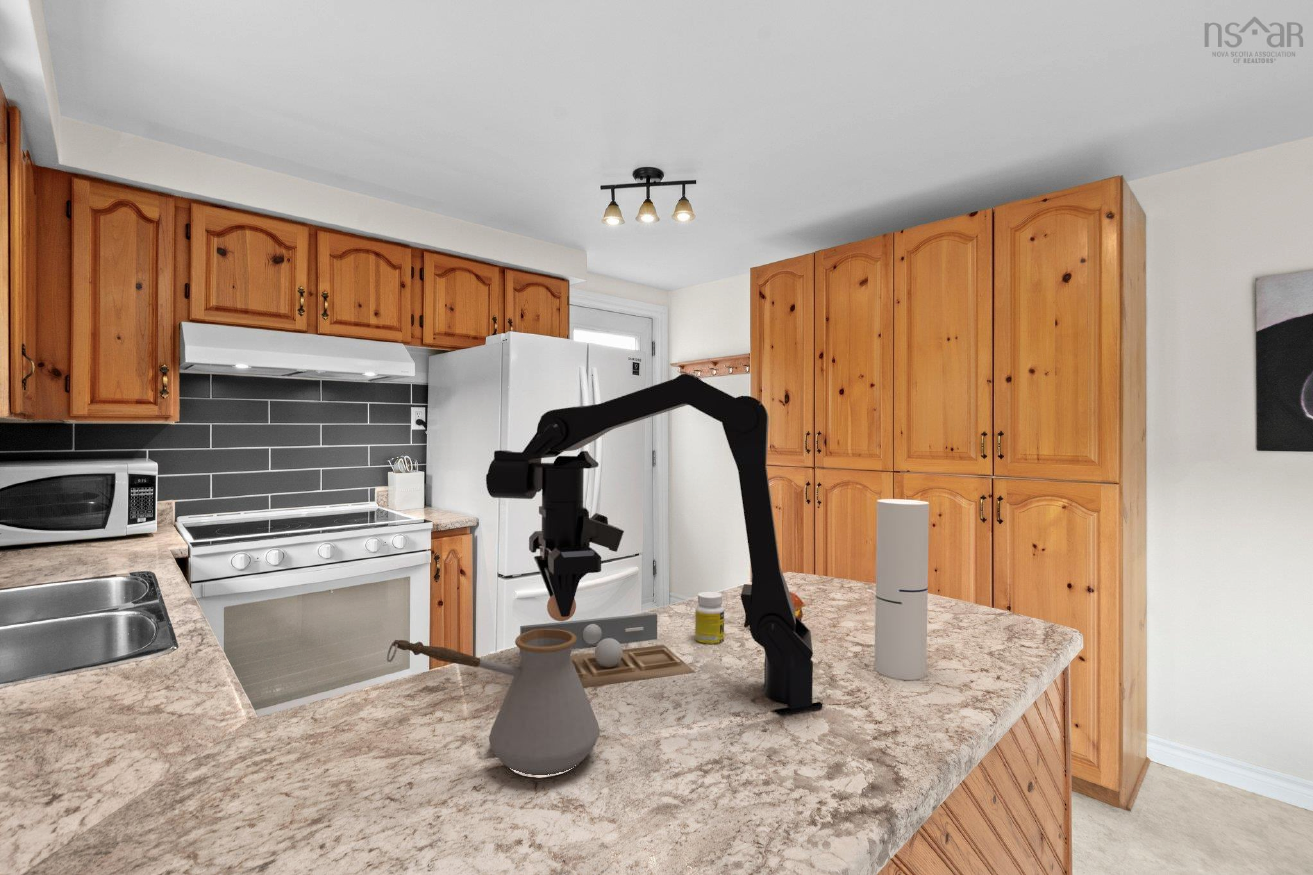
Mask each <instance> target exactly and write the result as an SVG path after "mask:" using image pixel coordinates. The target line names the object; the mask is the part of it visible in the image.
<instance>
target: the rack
mask: <svg viewBox="0 0 1313 875" xmlns="http://www.w3.org/2000/svg"><path fill="white" fill-rule="evenodd" d="M622 651H623V654H622V658H621V660H620V662H619V663H618V664H617V665H616V666H614V667H610V668H606V667H603V666H601V665H600V664H599V663H598V662H597V660H596V658H595V652H593V653H592V652H591V653H585V654H576V655H570V657H571V660H572V662H573V664H574V667H575V669H576V671H577V674H578V676H579V679H580V681H581V683H582V686H583V688H584V689H587V688H592V687H593V688H594V687H600V686H607V685H608V686H609V685H615V684H622V683H630V682H637V681H643V680H652V679H659V678H665V677H673V676H680V675H688V674H695V673H697V672H696V671H695V670H694V669H692V667H690V666H689V665H688V664H687V663H685V661H684V660H683V659H681V657H679V656H678V655H677V654H676V653H674V652H673V651H672V650H670V649H669V647H667V646H666V645H665V644H660V645H652V646H651V645H650V646H643V647H635V648H634V647H633V648H627V649H625V648H624V649H622Z"/></svg>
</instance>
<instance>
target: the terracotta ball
mask: <svg viewBox="0 0 1313 875" xmlns="http://www.w3.org/2000/svg"><path fill="white" fill-rule="evenodd" d="M546 609H547V613H548V615H549V617H551V619H552V620H554V621H556V622H567V621H568V620H569V619H571V618H572V617H573V616H574V615H575V613H576V610H577V603H576V600H575V598H574V601H573V604H572V608H571V612H570V615H569V616H568V617H562V616H561V615H560V612H559V609H558V606H557V604H556V601H555V598H554V595H552V596H551V597H550V596H549V599H548V601H547V605H546Z"/></svg>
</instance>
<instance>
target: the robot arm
mask: <svg viewBox="0 0 1313 875" xmlns="http://www.w3.org/2000/svg"><path fill="white" fill-rule="evenodd" d="M685 406H690V407H692V408H695V409H696V410H697V411H699V412H701V413H703V414H704V415H707V416H709V417H711V418H712V419H714V420H716V421H718V422H720V423H721V425H722V428H723V432H724V435H725V438H726V441H727V443H728V446H729V450H730V452H731V454H732V458H733V460H734V462H735V465H736V469H737V472H738V479H739V480H738V481H739V486H740V488H739V489H740V495H741V502H742V508H743V516H744V524H745V531H746V532H745V533H746V540H747V547H748V554H749V560H750V568H751V584H748V583H747V584H743V587H742V589H741V593H740V601H741V603H742V607H743V610H744V617H745V618H744V623H743V627H744V628H745V629H746V628H748V627H749V633H750V635H751V637H752V639H753V641H754V642H755V643H756V644H758V645H759V646H760V647H762V648H763V650H764V667H763V668H764V670H763V671H764V674H763V675H764V676H763V679H764V680H763V686H764V690H765V691H764V692H765V697H766V698H767V699H769V700H770V701H772V702H774V703H777V704H781V705H786V706H788V707H781V708H776V709H772V711H773V712H774V713H776V714H777V715H779V716H787V715H791V714H796V713H797V714H798V713H802V712H803V713H805V712H808V711H809V712H811V711H815V710H821V709H822V708H823V703H822V702H821V701H818V702H817V701H816V702H813V678H814V675H813V674H814V673H813V672H814V671H813V670H814V661H813V660H812V657H813V655H814V652H813V642H812V634H811V630H810V629H809V628H808V627H807V626H806V625H805V623H803V622H802V620H801V621H800V620H799V619H798V618H797V617H796V616H795V608H794V605H793V602H792V599H791V596H790V593H789V592H790V590H789V587H788V584H787V581H786V579H785V577H784V574H783V571H782V568H781V564H780V563H781V562H780V557H779V556H780V554H779V548H778V547H779V546H778V541H777V540H778V539H777V532H776V527H775V526H776V525H775V519H774V512H773V511H774V510H773V505H772V497H771V496H772V494H771V490H770V482H769V475H768V468H767V463H768V462H767V460H768V459H767V458H768V444H769V443H768V442H769V425H770V424H769V423H770V422H769V420H770V419H769V418H770V417H769V413H768V410H767V408H766V407H765V405H764V404H763V403H762V402H761V401H760V400H758V399H757V398H755V397H752V396H750V395H740V396H737V397H734V396H732V395H730V394H729V393H727V392H724V391H723V390H721V389H720V388H719V389H718V388H717V387H715V386H713V385H711V384H709V383H707V382H705V381H703V380H702V379H701V378H700V377H698V376H697V375H694V374H693V373H689V372H687V373H686V372H685V373H681V374H679V375H678V376H676V377H674V378H672V379H670V380H666V381H663V382H660V383H658V384H657V383H656V384H654V385H651V386H649V387H646V388H643V389H639V390H637V391H634V392H631V393H627V394H625V395H621V396H619V397H616V398H612V399H611V400H606V401H604V402H601V403H597V404H588V405H580V406H570V407H565V408H557V409H551V410H548V411H546V412H545V413H543V414H542V415H541V416H540V419H539V421H538V423H537V426H536V427H537V428H536V433H535V434H534V435H533V437H532V438H531V440H530V441H529V443H528V444H527V445H526V446H525V448H524V449H523V451H511V450H505V449H503V450H501V449H500V450H495V451H494V452H493V459H492V461H491V462H490V464H489V466H488V470H487V473H486V476H485V481H486V490H487V492H488V494H489V496H491V497H492V498H494V499H515V500H516V499H518V500H520V499H521V500H523V499H524V500H532V499H534V498H535V497H536V496H537V493H540V492H541V505H539V506H538V514H539V515H540V516H541V530H535V531H533V533H532V534H531V535H530V536H529V537H528V550H529V551H530V553H534V554H535V553H537V550H539V555H536V556H533V559H534V561H535V562H536V563H535V564H536V565H537V568H538V571H539V573H540V575H541V579H542V580H543V582H544V585H545V589H546V590H547V593H548V595H549V598H550V597H551V596H552V595H554V598H555V601H556V604H557V606H558V609H559V612H560V615H561V616H562V617H568V616H569V615H570V612H571V608H572V604H573V601H574V599H575V596H576V593H577V590H578V587H579V584H580V581H581V580H582V578H584V577H585V576H586V575H587V574H595V573H601V572H602V556H601V555H600V554H599V553H598V552H597V551H596V550H595V549H594V548H592V547H590V546H591V544H590V543H592V544H595V545H598V546H601V547H604V548H608V550H609V551H611V552H616V553H617V552H618V549H619V547H620V544H621V541H622V538H623V535H624V533H625V530H623V529H621V528H619V527H616V526H615V525H612V524H609V521H608V516H605V515H603V514H599V513H596V512H595V513H594V514H593V515H592V516H591V517H590V511H589V510H588V508H587V507H584V473H585V472H584V469H585V470H587V469H594V468H598V467H599V462H598V461H596V459H594V458H593V457H592V456H591V455H590V453H589V451H588V450H582V451H580V452H579V453H578V455H562V454H563V453H565V452H571V451H577V450H579V449H581V448H583V447H586V446H587V445H588V444H591V443H592V442H595V441H596V440H597V439H599V438H601V437H602V436H604V435H605V434H606V433H609V432H610V431H612V430H614V429H615V430H616V429H618V428H620V427H624V426H627V425H629V424H633V423H637V422H640V421H643V420H645V419H648V418H652V417H655V416H658V415H661V414H663V413H667V412H671V411H673V410H674V411H675V410H677V409H680V408H683V407H685ZM545 458H546V459H547V458H555V459H554V461H553V462H542V459H545Z"/></svg>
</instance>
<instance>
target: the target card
mask: <svg viewBox="0 0 1313 875" xmlns="http://www.w3.org/2000/svg"><path fill="white" fill-rule="evenodd" d="M534 629H559V630H565V631H569V632H571V633H573V634H575V636H576V637H577V641H576V643H575V644H574V645H573V646H572V650H574V649H584V648H593V647H596V646H597V644H598V643H599V642H600V641H601V640H603V639H606V638H612V639H615V640H616V641H618V642H619V643H620V644H628V643H636V642H637V643H638V642H647V641H654V640H657V639H658V614H657V613H656V612H649V613H641V614H640V613H639V614H629V615H621V616H609V617H601V618H588V619H580V620H579V619H578V620H569V621H568V620H566V621H556V622H550V623H549V622H548V623H538V624H529V625H527V624H526V625H520V627H519V635H521V634H523V633H526V632H528V631H531V630H534ZM519 653H520V652H519ZM520 655H521V653H520Z"/></svg>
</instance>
